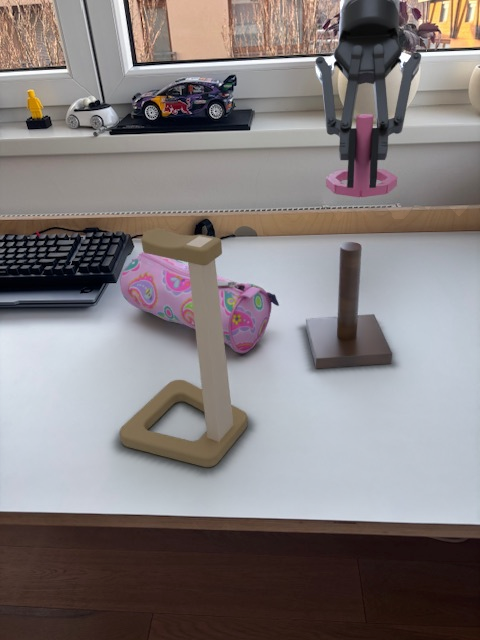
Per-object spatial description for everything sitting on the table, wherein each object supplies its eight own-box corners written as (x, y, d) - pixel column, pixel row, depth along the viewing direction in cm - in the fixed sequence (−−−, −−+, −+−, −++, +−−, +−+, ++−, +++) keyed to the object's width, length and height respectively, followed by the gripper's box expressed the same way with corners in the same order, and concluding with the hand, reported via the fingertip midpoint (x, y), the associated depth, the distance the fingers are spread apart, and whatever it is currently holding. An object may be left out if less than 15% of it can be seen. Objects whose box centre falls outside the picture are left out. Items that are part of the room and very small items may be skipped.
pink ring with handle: (323, 198, 71) (325, 118, 65) (328, 175, 79) (329, 102, 73) (398, 198, 69) (405, 116, 63) (394, 175, 77) (401, 100, 72)
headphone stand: (176, 385, 63) (147, 205, 52) (258, 414, 58) (247, 221, 47) (115, 443, 56) (66, 247, 44) (203, 481, 51) (174, 271, 39)
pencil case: (281, 333, 71) (279, 272, 67) (236, 368, 66) (231, 303, 61) (168, 291, 84) (160, 236, 79) (122, 316, 78) (110, 259, 73)
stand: (373, 323, 72) (380, 228, 65) (391, 363, 64) (401, 260, 57) (305, 328, 72) (305, 233, 65) (315, 368, 65) (316, 266, 57)
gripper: (309, -3, 68) (297, 167, 63) (434, -12, 66) (431, 166, 61) (312, 40, 76) (301, 196, 71) (425, 34, 73) (422, 196, 68)
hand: (361, 182), depth 66 cm, fingers closed on pink ring with handle, 2 cm apart
